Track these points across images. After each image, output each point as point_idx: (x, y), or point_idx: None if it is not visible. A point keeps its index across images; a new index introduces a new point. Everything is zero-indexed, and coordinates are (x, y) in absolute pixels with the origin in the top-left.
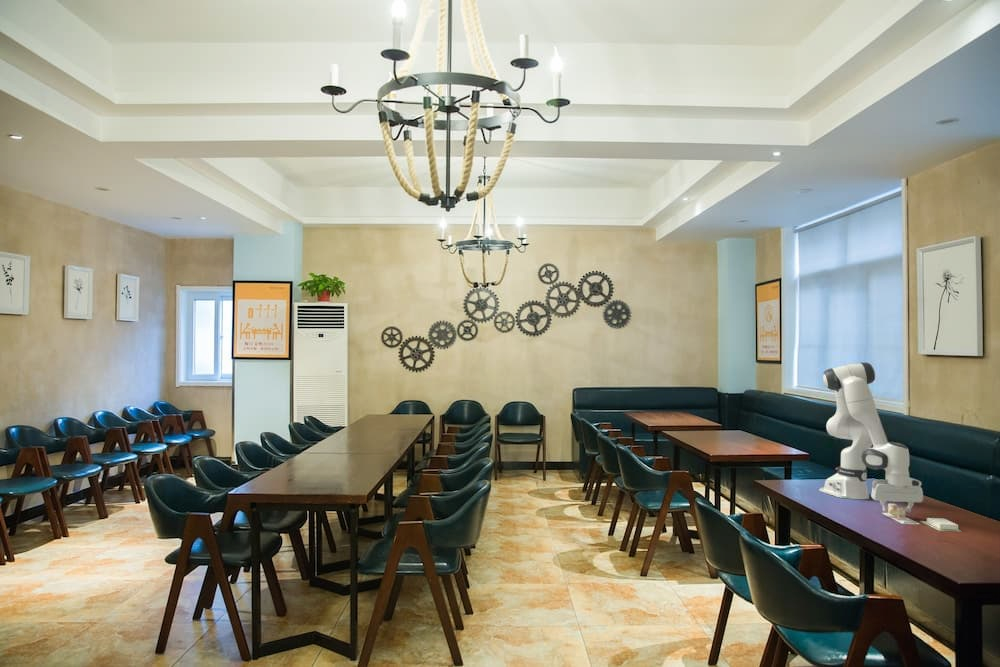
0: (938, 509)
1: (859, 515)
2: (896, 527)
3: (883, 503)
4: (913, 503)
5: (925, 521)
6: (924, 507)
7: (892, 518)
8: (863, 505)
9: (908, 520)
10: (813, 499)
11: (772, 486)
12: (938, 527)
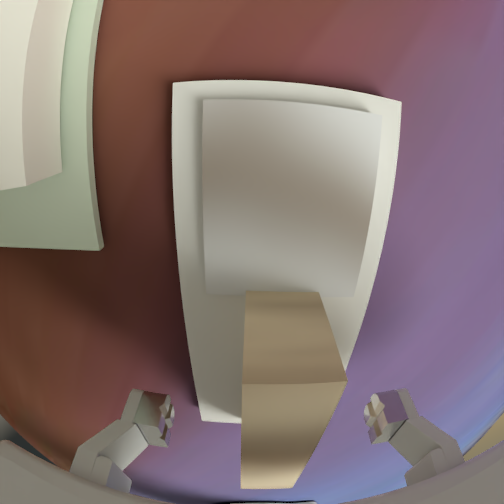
0: (21, 419)
1: (478, 354)
2: (472, 53)
3: (448, 444)
4: (75, 460)
5: (57, 239)
6: (56, 442)
7: (364, 306)
8: None
9: (279, 170)
10: None
11: None
12: None
